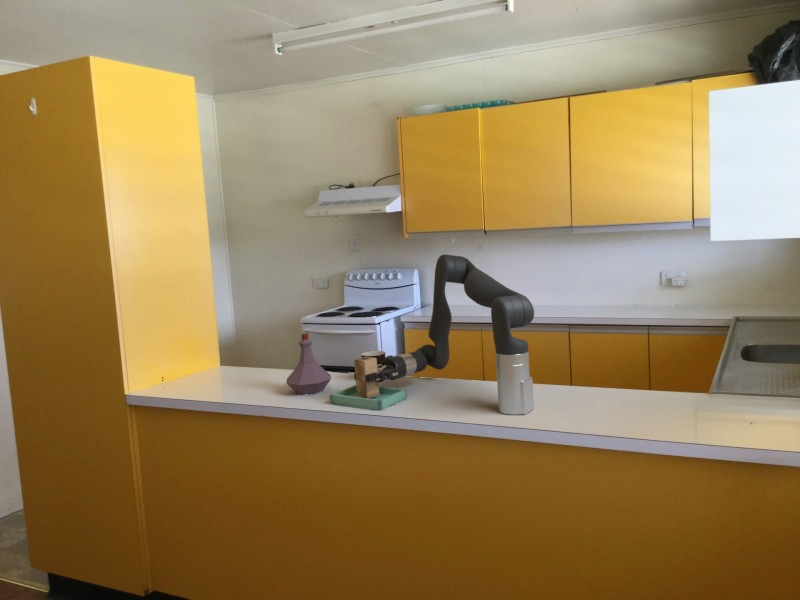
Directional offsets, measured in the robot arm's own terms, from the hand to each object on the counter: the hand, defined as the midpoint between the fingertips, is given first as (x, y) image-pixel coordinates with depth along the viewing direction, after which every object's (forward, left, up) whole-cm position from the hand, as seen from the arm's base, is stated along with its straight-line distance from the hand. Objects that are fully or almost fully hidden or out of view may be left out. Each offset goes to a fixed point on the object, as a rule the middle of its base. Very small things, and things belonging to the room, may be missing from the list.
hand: (360, 377), depth 212 cm
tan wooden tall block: (-1, -3, -6) cm, 7 cm away
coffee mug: (+12, -26, -9) cm, 30 cm away
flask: (+27, -6, -9) cm, 29 cm away
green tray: (-1, -3, -8) cm, 9 cm away
